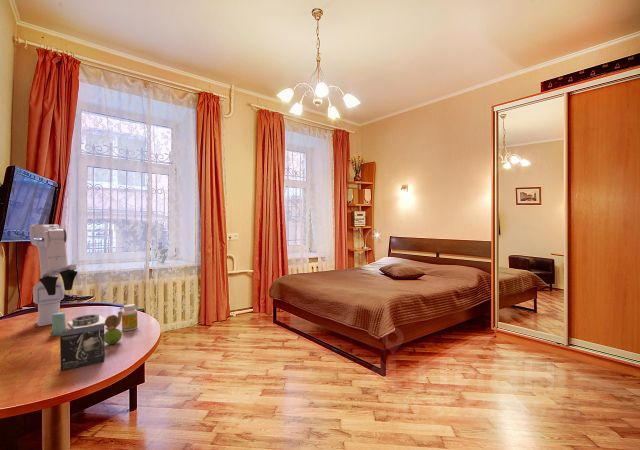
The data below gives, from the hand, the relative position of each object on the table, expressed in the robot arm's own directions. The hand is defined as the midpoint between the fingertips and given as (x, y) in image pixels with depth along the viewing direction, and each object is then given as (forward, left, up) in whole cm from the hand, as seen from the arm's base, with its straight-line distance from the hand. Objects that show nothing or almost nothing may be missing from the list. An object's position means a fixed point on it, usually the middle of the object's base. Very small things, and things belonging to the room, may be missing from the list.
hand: (60, 292), depth 119 cm
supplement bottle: (+12, +20, -17) cm, 29 cm away
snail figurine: (+25, +11, -17) cm, 32 cm away
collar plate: (-11, +11, -17) cm, 23 cm away
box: (+36, 0, -17) cm, 40 cm away
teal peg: (-4, 0, -17) cm, 17 cm away
